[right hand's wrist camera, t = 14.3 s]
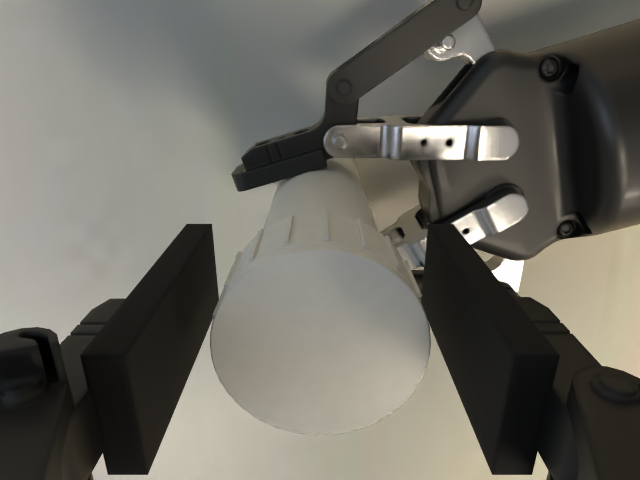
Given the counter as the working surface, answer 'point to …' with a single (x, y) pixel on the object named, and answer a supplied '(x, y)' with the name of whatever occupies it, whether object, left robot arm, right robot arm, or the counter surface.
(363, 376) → the lid
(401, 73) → the counter surface
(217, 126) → the counter surface
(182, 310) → the right robot arm
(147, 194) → the counter surface
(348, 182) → the white long cylinder
